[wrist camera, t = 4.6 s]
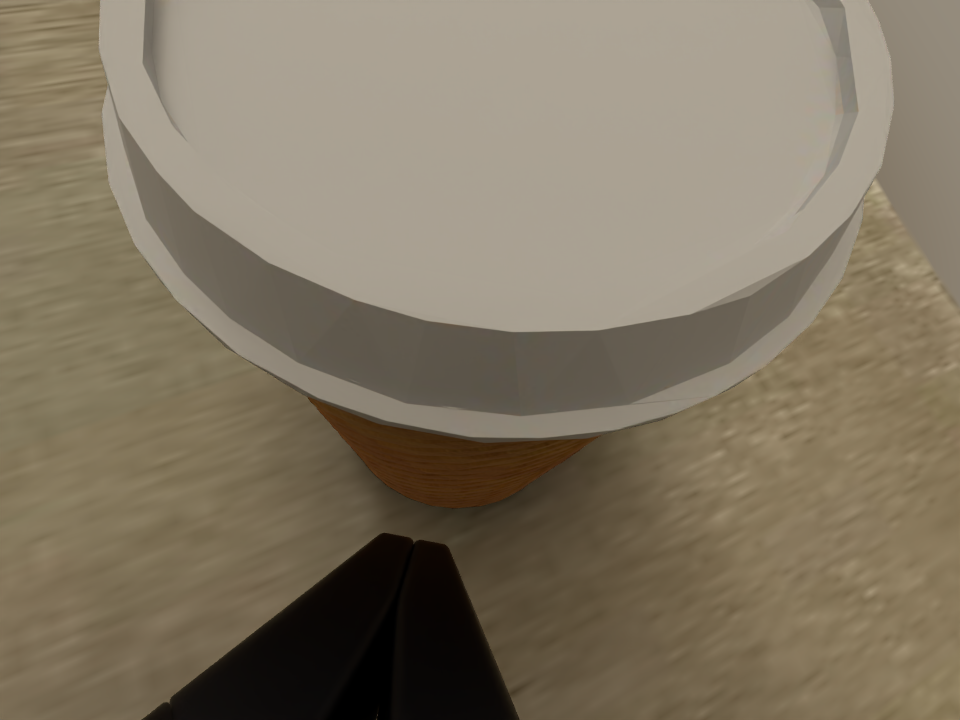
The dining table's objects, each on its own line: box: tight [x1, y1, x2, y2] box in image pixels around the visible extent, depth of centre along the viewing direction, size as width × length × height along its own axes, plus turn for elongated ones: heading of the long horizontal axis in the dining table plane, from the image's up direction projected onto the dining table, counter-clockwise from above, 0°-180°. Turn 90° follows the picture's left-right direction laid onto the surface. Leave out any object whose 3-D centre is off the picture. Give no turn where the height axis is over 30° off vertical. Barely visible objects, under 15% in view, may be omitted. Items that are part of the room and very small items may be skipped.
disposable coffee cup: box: [99, 0, 894, 508], centre depth 12 cm, size 10×10×12 cm
